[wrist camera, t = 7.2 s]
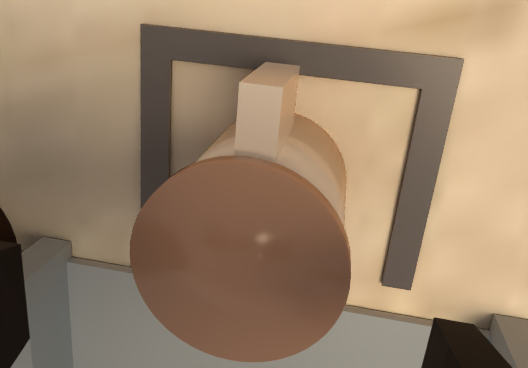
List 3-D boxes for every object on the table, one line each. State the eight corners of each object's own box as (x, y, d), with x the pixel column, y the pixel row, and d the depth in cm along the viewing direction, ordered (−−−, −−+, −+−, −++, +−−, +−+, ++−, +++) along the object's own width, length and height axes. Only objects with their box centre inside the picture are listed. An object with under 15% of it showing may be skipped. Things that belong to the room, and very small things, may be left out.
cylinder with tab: (372, 67, 15) (382, 111, 10) (340, 256, 18) (332, 380, 12) (209, 48, 16) (127, 79, 10) (200, 233, 19) (130, 341, 13)
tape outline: (462, 58, 15) (464, 59, 15) (410, 287, 18) (410, 290, 18) (142, 23, 16) (140, 23, 16) (143, 242, 19) (141, 244, 19)
